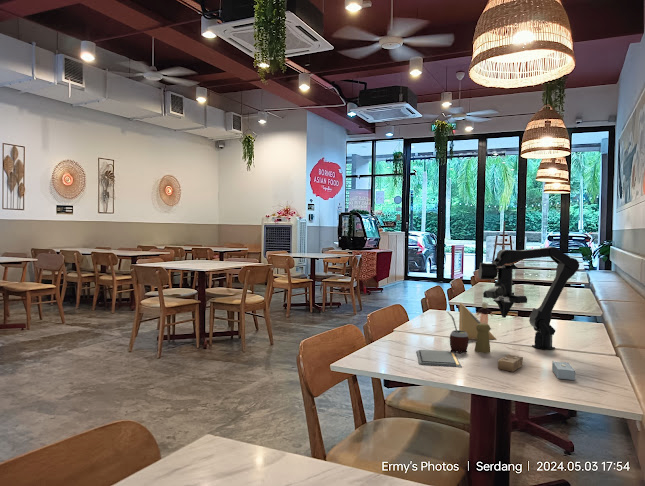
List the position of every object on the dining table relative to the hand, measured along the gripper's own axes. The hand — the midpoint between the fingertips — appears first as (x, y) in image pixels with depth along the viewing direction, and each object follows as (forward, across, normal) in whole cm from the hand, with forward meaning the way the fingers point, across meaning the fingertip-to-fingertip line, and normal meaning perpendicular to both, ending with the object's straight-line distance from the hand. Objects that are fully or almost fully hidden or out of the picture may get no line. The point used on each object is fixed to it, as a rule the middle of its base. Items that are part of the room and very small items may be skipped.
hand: (503, 317), depth 195 cm
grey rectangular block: (+10, +34, -9) cm, 37 cm away
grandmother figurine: (+12, -36, +24) cm, 45 cm away
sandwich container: (+12, -18, +3) cm, 22 cm away
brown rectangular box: (+10, +23, -17) cm, 30 cm away
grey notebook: (+13, +6, -38) cm, 41 cm away
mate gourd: (+12, 0, -24) cm, 27 cm away
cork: (+12, +3, -14) cm, 19 cm away
